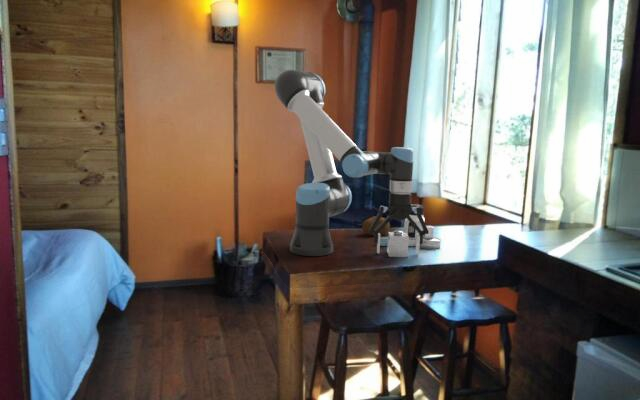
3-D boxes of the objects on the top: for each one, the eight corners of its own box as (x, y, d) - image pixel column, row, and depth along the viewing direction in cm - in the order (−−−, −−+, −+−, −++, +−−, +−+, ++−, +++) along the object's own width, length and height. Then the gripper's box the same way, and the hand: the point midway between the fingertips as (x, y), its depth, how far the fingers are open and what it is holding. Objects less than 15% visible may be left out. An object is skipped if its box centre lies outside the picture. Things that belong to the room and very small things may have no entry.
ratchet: (380, 247, 189) (381, 227, 188) (378, 241, 198) (379, 222, 197) (442, 249, 188) (443, 229, 187) (437, 243, 197) (438, 224, 196)
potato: (357, 234, 209) (358, 215, 208) (381, 231, 216) (382, 213, 214) (369, 238, 202) (370, 219, 201) (394, 235, 209) (395, 216, 208)
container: (423, 240, 202) (425, 207, 200) (403, 238, 204) (405, 206, 202) (423, 235, 210) (425, 204, 208) (404, 234, 211) (406, 203, 209)
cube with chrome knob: (388, 256, 177) (390, 233, 176) (387, 251, 184) (388, 229, 182) (407, 257, 177) (409, 233, 176) (405, 252, 184) (406, 229, 182)
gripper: (364, 193, 173) (362, 254, 177) (439, 195, 173) (435, 256, 176) (363, 190, 181) (361, 249, 184) (434, 191, 180) (431, 250, 184)
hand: (397, 252), depth 180 cm, fingers open, 13 cm apart
